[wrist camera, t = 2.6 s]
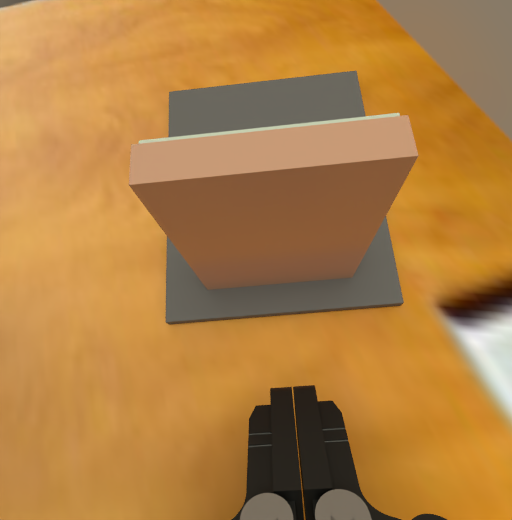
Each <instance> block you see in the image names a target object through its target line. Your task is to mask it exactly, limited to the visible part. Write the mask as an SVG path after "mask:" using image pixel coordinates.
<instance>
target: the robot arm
mask: <svg viewBox="0 0 512 520" xmlns="http://www.w3.org/2000/svg"><path fill="white" fill-rule="evenodd" d="M293 390H294V403H295V415H296V427H297V438H298V448H299V458H300V468H301V477H302V487H303V497H304V507H305V517H306V520H401V519H398V518H394V517H391V516H388V515H385V514H383V513H381V512H379V511H378V510H376V509H375V508H374V507H372V506H371V505H370V504H369V503H368V502H367V500H366V499H365V498H364V496H363V494H362V492H361V490H360V487H359V483H358V479H357V475H356V470H355V466H354V462H353V458H352V454H351V450H350V446H349V442H348V437H347V433H346V430H345V425H344V421H343V417H342V413H341V411H340V410H339V409H338V408H337V406H336V405H335V404H334V402H333V401H320V402H317V396H316V390H315V386H314V385H312V386H297V387H293ZM270 396H271V405H261V406H256V407H255V409H254V411H253V413H252V414H251V416H250V418H249V440H248V467H247V493H246V499H245V502H244V505H243V507H242V508H241V510H240V512H239V513H238V514H237V515H236V516H235V517H234V518H233V519H232V520H304V516H303V503H302V491H301V480H300V470H299V460H298V449H297V439H296V429H295V419H294V408H293V398H292V388H291V387H284V388H271V389H270ZM412 520H447V519H445V518H443V517H440V516H438V515H434V514H421V515H418V516H416V517H415V518H413V519H412Z"/></svg>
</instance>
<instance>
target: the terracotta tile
mask: <svg viewBox="0 0 512 520" xmlns="http://www.w3.org/2000/svg"><path fill="white" fill-rule="evenodd" d="M417 157H418V152H417V148H416V144H415V141H414V137H413V133H412V129H411V125H410V121H409V117H408V115H405V116H400V114H399V113H393V114H384V115H375V116H365V117H356V118H347V119H337V120H328V121H319V122H309V123H300V124H290V125H281V126H272V127H262V128H253V129H244V130H234V131H225V132H216V133H206V134H197V135H187V136H178V137H169V138H159V139H150V140H141V141H139V144H132V145H131V157H130V175H129V186H130V187H131V188H132V190H133V191H134V192H135V194H136V195H137V196H138V198H139V199H140V200H141V202H142V203H143V204H144V206H145V207H146V208H147V210H148V211H149V212H150V214H151V215H152V216H153V218H154V219H155V220H156V222H157V223H158V224H159V226H160V227H161V228H162V230H163V231H164V232H165V234H166V235H167V236H168V238H169V239H170V240H171V242H172V243H173V244H174V246H175V247H176V248H177V250H178V251H179V252H180V254H181V255H182V256H183V258H184V259H185V260H186V262H187V263H188V264H189V266H190V267H191V268H192V270H193V271H194V272H195V274H196V275H197V276H198V278H199V279H200V280H201V282H202V283H203V284H204V286H205V287H206V288H207V290H213V289H224V288H236V287H248V286H260V285H271V284H283V283H295V282H306V281H318V280H330V279H341V278H352V277H353V275H354V273H355V272H356V270H357V268H358V266H359V264H360V262H361V261H362V259H363V257H364V255H365V253H366V251H367V249H368V248H369V246H370V244H371V242H372V240H373V238H374V237H375V235H376V233H377V231H378V229H379V227H380V226H381V224H382V222H383V220H384V218H385V216H386V214H387V213H388V211H389V209H390V207H391V205H392V203H393V202H394V200H395V198H396V196H397V194H398V192H399V190H400V189H401V187H402V185H403V183H404V181H405V179H406V178H407V176H408V174H409V172H410V170H411V168H412V166H413V165H414V163H415V161H416V159H417Z"/></svg>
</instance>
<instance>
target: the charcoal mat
mask: <svg viewBox="0 0 512 520" xmlns="http://www.w3.org/2000/svg"><path fill="white" fill-rule="evenodd" d="M356 117H365V111H364V106H363V101H362V96H361V91H360V87H359V82H358V77H357V72H356V71H350V72H341V73H332V74H323V75H314V76H306V77H297V78H288V79H279V80H270V81H261V82H252V83H244V84H235V85H226V86H217V87H208V88H199V89H191V90H182V91H173V92H169V137H178V136H187V135H197V134H206V133H216V132H225V131H234V130H244V129H253V128H262V127H272V126H281V125H290V124H300V123H309V122H319V121H328V120H337V119H347V118H356ZM401 304H403V298H402V293H401V288H400V283H399V278H398V273H397V268H396V263H395V258H394V253H393V249H392V244H391V239H390V234H389V229H388V224H387V219H386V216H385V218H384V220H383V222H382V224H381V226H380V227H379V229H378V231H377V233H376V235H375V237H374V238H373V240H372V242H371V244H370V246H369V248H368V249H367V251H366V253H365V255H364V257H363V259H362V261H361V262H360V264H359V266H358V268H357V270H356V272H355V273H354V275H353V277H352V278H341V279H330V280H318V281H306V282H295V283H283V284H271V285H260V286H248V287H236V288H224V289H213V290H207V288H206V287H205V286H204V284H203V283H202V282H201V280H200V279H199V278H198V276H197V275H196V274H195V272H194V271H193V270H192V268H191V267H190V266H189V264H188V263H187V262H186V260H185V259H184V258H183V256H182V255H181V254H180V252H179V251H178V250H177V248H176V247H175V246H174V244H173V243H172V242H171V240H170V239H169V238H168V236H167V270H166V323H168V324H178V323H191V322H203V321H215V320H228V319H240V318H252V317H265V316H277V315H289V314H301V313H314V312H326V311H338V310H351V309H363V308H375V307H388V306H400V305H401Z"/></svg>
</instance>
